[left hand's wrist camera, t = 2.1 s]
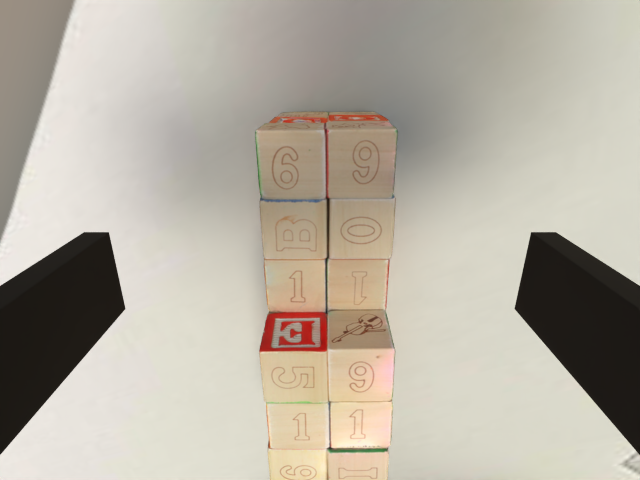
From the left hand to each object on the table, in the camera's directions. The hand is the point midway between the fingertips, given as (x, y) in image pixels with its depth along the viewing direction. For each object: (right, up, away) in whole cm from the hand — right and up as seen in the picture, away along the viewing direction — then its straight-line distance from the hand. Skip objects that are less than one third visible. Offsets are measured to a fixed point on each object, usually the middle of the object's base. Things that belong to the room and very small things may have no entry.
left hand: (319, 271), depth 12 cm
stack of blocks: (0, -1, +17) cm, 17 cm away
